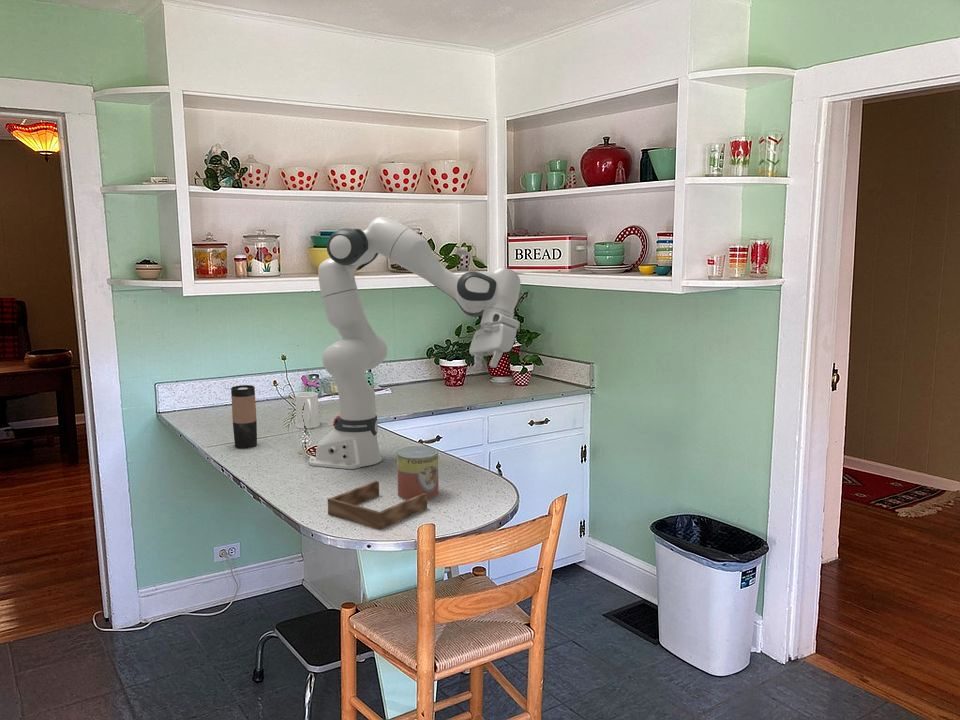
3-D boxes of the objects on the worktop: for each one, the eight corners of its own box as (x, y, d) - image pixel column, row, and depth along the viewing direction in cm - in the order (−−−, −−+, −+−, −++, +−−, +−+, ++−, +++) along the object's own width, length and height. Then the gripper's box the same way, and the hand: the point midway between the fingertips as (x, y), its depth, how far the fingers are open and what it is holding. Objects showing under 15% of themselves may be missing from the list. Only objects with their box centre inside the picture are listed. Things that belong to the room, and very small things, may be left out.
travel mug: (262, 443, 271) (259, 385, 268) (250, 449, 264) (246, 390, 260) (242, 442, 273) (238, 384, 270) (229, 448, 266) (226, 389, 262)
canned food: (414, 504, 213) (413, 460, 211) (389, 493, 221) (388, 451, 219) (447, 494, 220) (446, 452, 218) (421, 484, 228) (420, 443, 226)
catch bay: (376, 494, 220) (376, 480, 219) (427, 508, 210) (426, 493, 209) (328, 514, 206) (327, 499, 205) (379, 529, 195) (379, 513, 195)
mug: (321, 430, 288) (320, 397, 286) (297, 432, 286) (295, 399, 284) (318, 422, 299) (317, 390, 297) (295, 424, 297) (293, 392, 295)
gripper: (470, 323, 239) (459, 367, 237) (504, 314, 221) (492, 361, 218) (488, 330, 242) (477, 374, 239) (523, 322, 224) (511, 369, 221)
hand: (484, 368), depth 229 cm, fingers open, 8 cm apart
